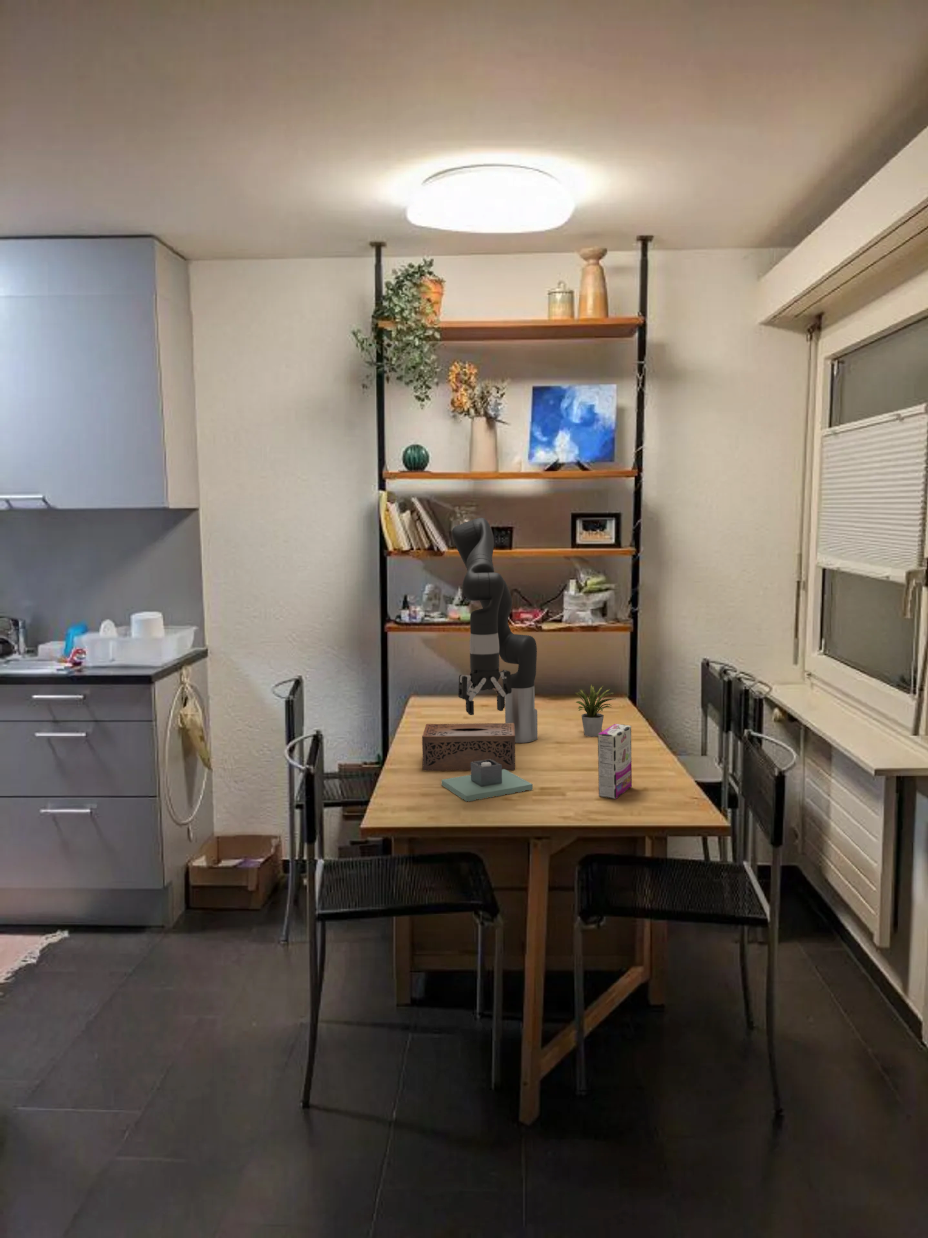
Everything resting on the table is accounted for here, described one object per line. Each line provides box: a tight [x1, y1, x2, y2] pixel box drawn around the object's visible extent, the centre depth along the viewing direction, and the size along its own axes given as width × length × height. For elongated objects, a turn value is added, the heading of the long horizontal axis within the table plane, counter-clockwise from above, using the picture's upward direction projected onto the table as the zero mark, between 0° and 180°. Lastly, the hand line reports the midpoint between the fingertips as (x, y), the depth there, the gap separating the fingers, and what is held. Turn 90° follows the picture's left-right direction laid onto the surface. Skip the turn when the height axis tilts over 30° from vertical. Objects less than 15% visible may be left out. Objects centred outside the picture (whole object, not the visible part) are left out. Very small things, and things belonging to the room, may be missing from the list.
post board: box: [441, 762, 534, 802], centre depth 228 cm, size 19×15×6 cm
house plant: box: [575, 683, 615, 738], centre depth 277 cm, size 14×14×16 cm
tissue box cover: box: [421, 722, 516, 771], centre depth 250 cm, size 26×14×10 cm, turn 88°
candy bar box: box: [597, 723, 633, 800], centre depth 222 cm, size 11×5×16 cm, turn 148°
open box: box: [470, 759, 502, 787], centre depth 228 cm, size 6×6×5 cm
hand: (485, 712), depth 226 cm, fingers open, 8 cm apart
